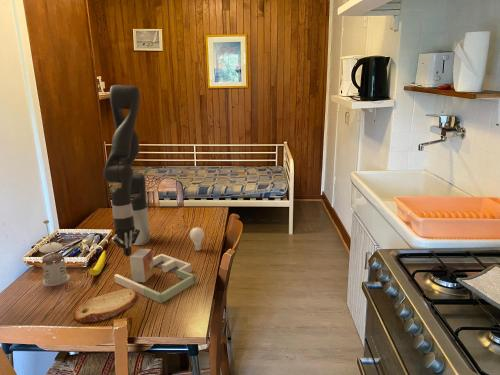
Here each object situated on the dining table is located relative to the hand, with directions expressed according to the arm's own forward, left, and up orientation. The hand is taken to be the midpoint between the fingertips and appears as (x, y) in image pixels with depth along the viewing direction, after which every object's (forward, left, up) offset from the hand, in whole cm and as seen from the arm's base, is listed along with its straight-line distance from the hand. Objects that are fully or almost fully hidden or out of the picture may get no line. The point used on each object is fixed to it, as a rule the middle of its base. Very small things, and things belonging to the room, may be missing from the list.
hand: (127, 255), depth 154 cm
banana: (-11, -7, -7) cm, 15 cm away
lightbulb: (+9, +30, -7) cm, 32 cm away
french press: (-20, -20, -7) cm, 29 cm away
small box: (+8, 0, -7) cm, 11 cm away
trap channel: (+15, +3, -7) cm, 17 cm away
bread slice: (+14, -20, -8) cm, 26 cm away
